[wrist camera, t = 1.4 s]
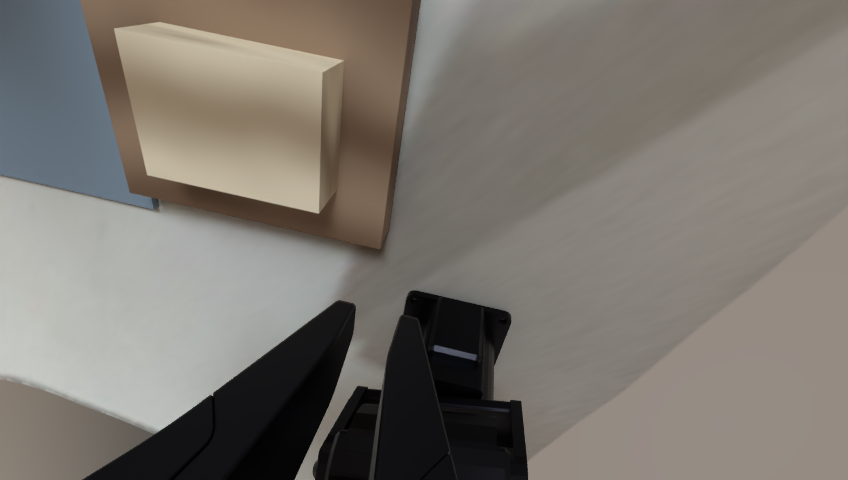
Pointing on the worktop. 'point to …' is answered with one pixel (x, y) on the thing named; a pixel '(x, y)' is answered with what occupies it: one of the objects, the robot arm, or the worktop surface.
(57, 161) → the rubber mat
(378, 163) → the walnut board
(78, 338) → the worktop surface
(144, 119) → the beech tile
